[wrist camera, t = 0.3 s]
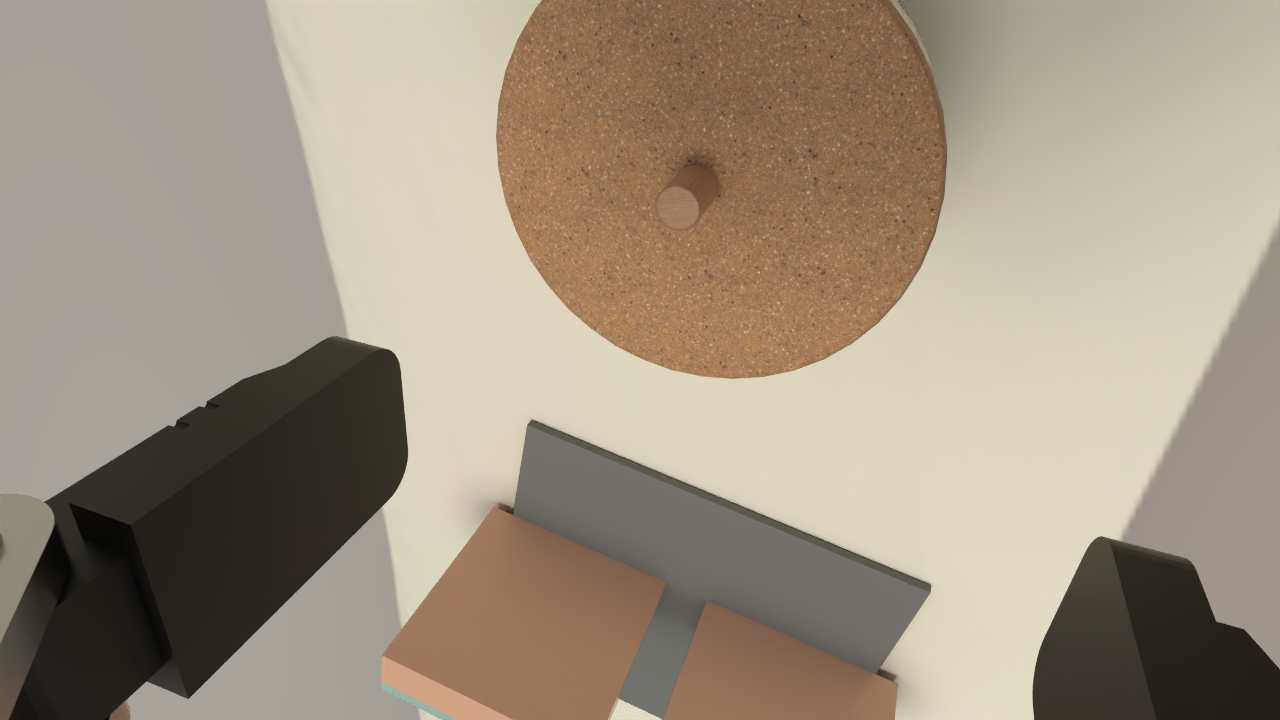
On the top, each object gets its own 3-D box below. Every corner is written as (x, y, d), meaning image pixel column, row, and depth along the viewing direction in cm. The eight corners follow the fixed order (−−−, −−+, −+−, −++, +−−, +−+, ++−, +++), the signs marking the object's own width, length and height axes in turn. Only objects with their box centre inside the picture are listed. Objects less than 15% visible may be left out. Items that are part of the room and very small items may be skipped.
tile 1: (494, 506, 38) (381, 655, 30) (666, 582, 36) (591, 757, 29) (489, 539, 39) (381, 689, 32) (655, 613, 38) (580, 788, 30)
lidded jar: (955, 257, 25) (948, 423, 17) (642, 272, 29) (527, 411, 21) (950, -136, 20) (938, -146, 12) (574, -48, 24) (394, -15, 16)
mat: (531, 420, 34) (527, 425, 34) (930, 585, 31) (930, 592, 31) (496, 633, 44) (492, 639, 43) (802, 777, 41) (801, 784, 40)
